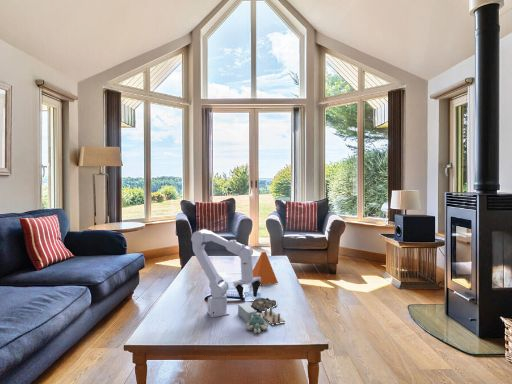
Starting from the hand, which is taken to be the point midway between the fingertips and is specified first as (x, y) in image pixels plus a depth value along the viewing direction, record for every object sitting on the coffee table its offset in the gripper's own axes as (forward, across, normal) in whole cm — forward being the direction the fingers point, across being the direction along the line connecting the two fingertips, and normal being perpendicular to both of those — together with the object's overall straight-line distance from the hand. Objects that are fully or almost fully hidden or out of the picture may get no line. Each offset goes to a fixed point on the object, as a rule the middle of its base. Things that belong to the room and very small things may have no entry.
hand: (248, 297), depth 164 cm
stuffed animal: (+10, -3, -13) cm, 17 cm away
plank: (+10, -1, 0) cm, 10 cm away
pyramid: (+9, +36, +48) cm, 61 cm away
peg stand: (+10, +9, -7) cm, 16 cm away
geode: (+11, +14, +9) cm, 20 cm away
